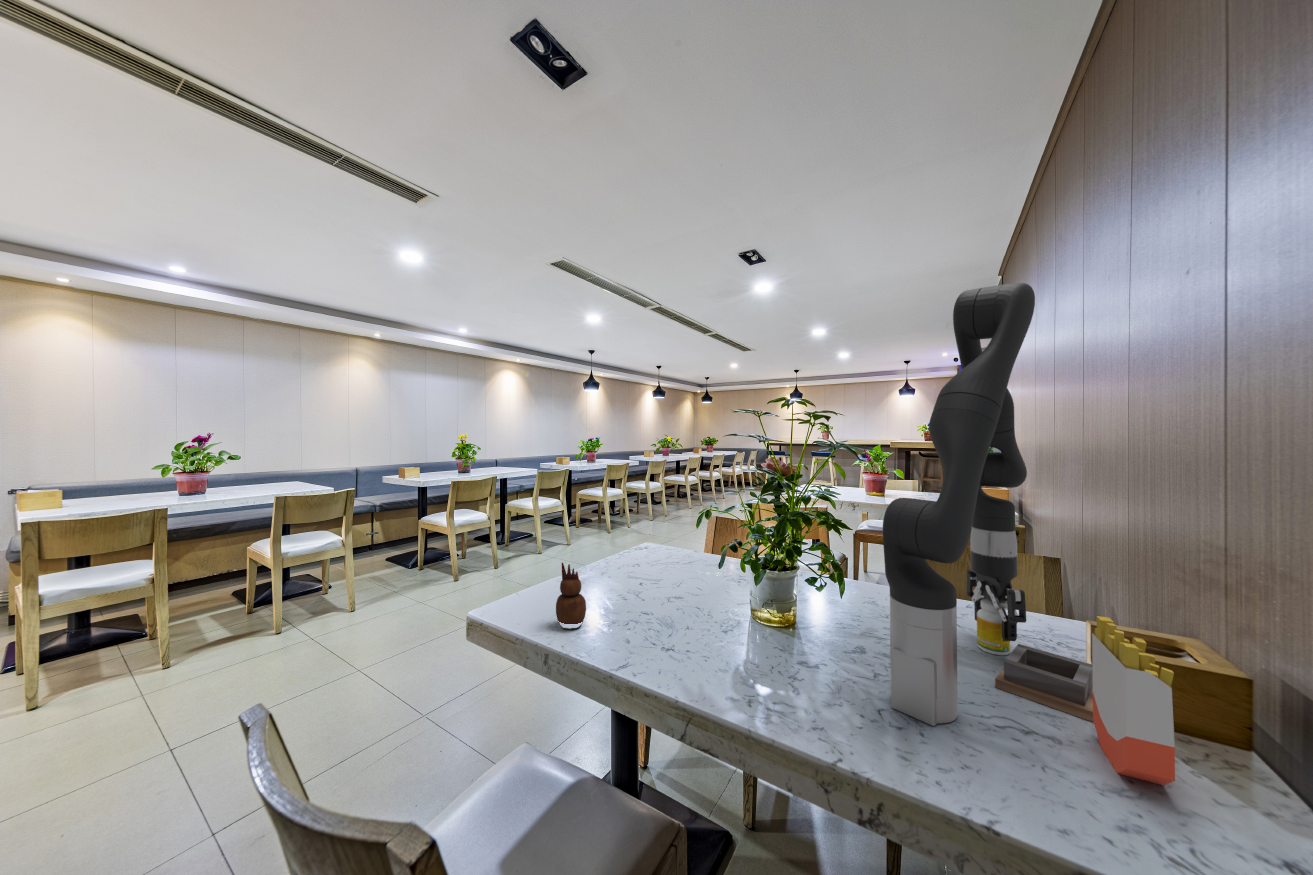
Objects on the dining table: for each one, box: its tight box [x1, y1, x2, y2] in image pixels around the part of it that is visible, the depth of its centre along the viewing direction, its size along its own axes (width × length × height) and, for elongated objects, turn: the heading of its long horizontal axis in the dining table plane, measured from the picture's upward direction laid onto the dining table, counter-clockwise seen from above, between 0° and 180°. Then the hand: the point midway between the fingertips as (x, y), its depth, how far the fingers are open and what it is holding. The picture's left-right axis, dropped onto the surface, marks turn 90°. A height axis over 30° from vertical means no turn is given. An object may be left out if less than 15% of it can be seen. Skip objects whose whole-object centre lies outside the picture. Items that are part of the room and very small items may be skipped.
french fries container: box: [1091, 615, 1176, 786], centre depth 58 cm, size 5×11×18 cm, turn 151°
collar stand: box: [994, 643, 1094, 723], centre depth 75 cm, size 12×12×4 cm
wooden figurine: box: [555, 562, 587, 624], centre depth 102 cm, size 7×6×15 cm
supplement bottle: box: [976, 599, 1011, 656], centre depth 89 cm, size 5×5×10 cm
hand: (994, 630), depth 89 cm, fingers open, 8 cm apart
